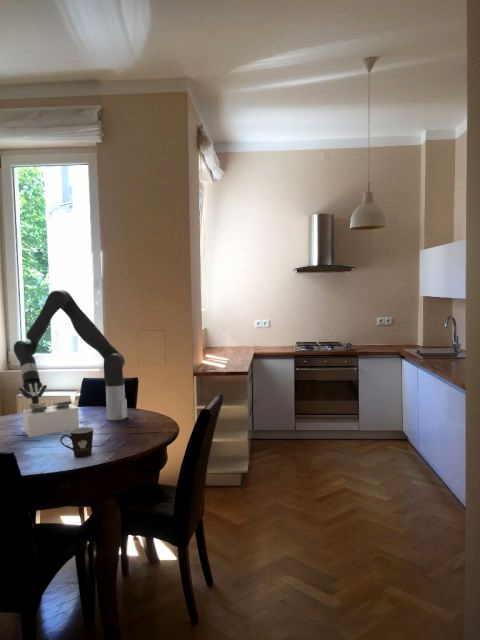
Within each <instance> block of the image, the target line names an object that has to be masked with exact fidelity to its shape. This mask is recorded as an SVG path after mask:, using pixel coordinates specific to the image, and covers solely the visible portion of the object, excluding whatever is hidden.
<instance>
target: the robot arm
mask: <svg viewBox="0 0 480 640" xmlns="http://www.w3.org/2000/svg"><path fill="white" fill-rule="evenodd" d="M60 309H61V310H62V311H63V312H64V313H65V315H67V316H68V318H69V319H70V321H71V324H72V326H73V327H72V328H73V329H74V331H75V332H76V333H77V335H78V336H79V337H80V338H81V339H82V341H83V342H84V343H85V344H87V345H88V346H89V347H91V348H92V349H94V350H95V351H97V352H98V354H99V355H100V356H101V357H102V358H103V373H104V374H103V377H104V381H105V397H106V398H105V402H106V419H107V420H108V421H122V420H124V419H126V418H127V417H128V408H127V407H128V404H127V401H128V400H127V398H126V391H125V378H124V374H123V368H124V366H125V363H126V361H125V357H124V356H123V355H122V354H121V353H120V352H119V351H118V350H117V349H116V348H115V347H114V346H113V345H112V344H111V343H110V341H108V340H107V338H106V336H104V335H103V333H102V332H101V331H100V329H99V328H98V327H97V325H96V324H95V323H94V322H93V321H92V320H91V319H90V318H89V317H88V316H87V314H86V313H85V312H84V311H83V310H82V309H81V308H80V307H79V305H78V304H77V302H76V300H74V298H73V297H72V295H71V294H70V293H69V291H67V290H64V289H56V290H53V291H51V292H49V294H48V296H47V297H46V300H45V303H44V305H43V306H42V309H41V311H40V313H39V314H38V316H37V317H36V319H35V321H34V322H33V324H32V325H30V328H29V329H28V330H27V332H26V334H25V336H26V338H27V340H29V341H30V342H29V341H24V340H18V341H16V342H14V344H13V352H14V355H15V357H16V358H17V360H18V362H19V365H20V373H21V379H22V387H20V388H19V389H18V393H19V394H21V395H22V396H23V397H25V398H26V399H30V400H31V404H38V403H40V400H39V398H41V397H42V396H43V394H44V393H45V392H46V390H47V388H48V387H47V384H43V383H42V382H41V379H40V375H39V374H40V373H39V370H38V367H37V364H36V363H37V362H36V359H35V357H34V355H35V354H36V352H37V349H38V346H39V343H40V341H41V340H42V337H43V336H44V335H45V333H46V332H47V330H48V328H49V325H50V323H51V320H52V318H53V316H54V315H55V314H56V313H57V312H58V311H59V310H60Z"/></svg>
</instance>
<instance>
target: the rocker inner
mask: <svg viewBox="0 0 480 640" xmlns="http://www.w3.org/2000/svg"><path fill="white" fill-rule="evenodd" d="M69 404H72V400H64V401H56V402H53V406H62V405H69Z"/></svg>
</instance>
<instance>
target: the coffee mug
mask: <svg viewBox="0 0 480 640" xmlns="http://www.w3.org/2000/svg"><path fill="white" fill-rule="evenodd" d="M69 431H70V433H69V434H70V435H68V434H65V435H62V436H61V437H60V439H59V440H60V443H61V445H62V446H64V447H65V448H68V449H69V450H72V451H73V456H74V458H76V459H84V458H88V457H91V456H92V455H93V454H92V453H93V441H94V440H93V439H94V437H93V436H94V428H93V427H89V426H84V427H83V426H82V427H79V428H76V429H73V430H69ZM65 437H66V438H69V440H71V443H72V444H71V445H72V447H71V446H68V445H66V444H65V443H63V439H64V438H65Z"/></svg>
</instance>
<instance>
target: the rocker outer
mask: <svg viewBox="0 0 480 640" xmlns="http://www.w3.org/2000/svg"><path fill="white" fill-rule="evenodd" d="M28 406H29V409H31V410H32V411H39V410H46V409H47V407H48V406H47V405H46V404H45V403H44V402H39V403H38V404H32V403H31V404H29V405H28Z"/></svg>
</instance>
